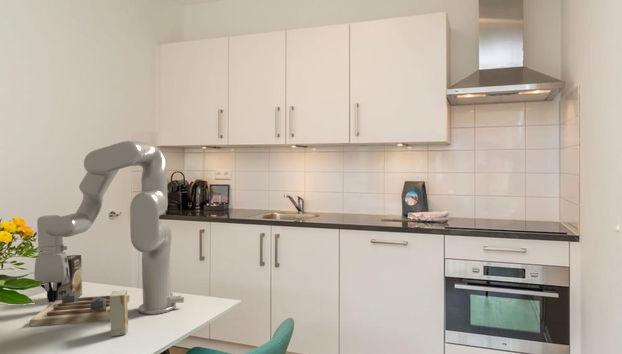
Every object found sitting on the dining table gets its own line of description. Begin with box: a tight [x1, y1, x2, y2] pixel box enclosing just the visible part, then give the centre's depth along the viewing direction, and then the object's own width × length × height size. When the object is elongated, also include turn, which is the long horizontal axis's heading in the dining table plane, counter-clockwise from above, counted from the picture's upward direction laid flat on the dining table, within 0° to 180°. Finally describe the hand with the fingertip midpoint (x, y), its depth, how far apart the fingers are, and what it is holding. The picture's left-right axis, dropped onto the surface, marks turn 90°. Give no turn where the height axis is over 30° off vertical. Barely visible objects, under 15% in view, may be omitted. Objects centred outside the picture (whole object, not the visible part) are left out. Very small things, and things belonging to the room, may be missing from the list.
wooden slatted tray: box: [29, 295, 130, 327], centre depth 151 cm, size 26×20×3 cm
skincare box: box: [109, 289, 129, 337], centre depth 132 cm, size 6×4×12 cm
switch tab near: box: [90, 297, 106, 309], centre depth 148 cm, size 4×4×4 cm
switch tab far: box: [62, 291, 79, 303], centre depth 154 cm, size 4×4×4 cm
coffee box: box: [56, 254, 83, 301], centre depth 167 cm, size 9×6×16 cm
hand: (52, 301), depth 153 cm, fingers closed
